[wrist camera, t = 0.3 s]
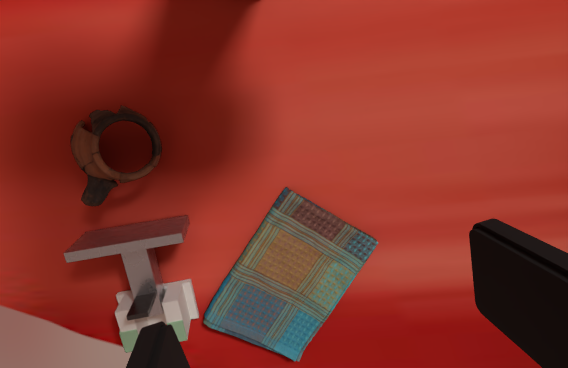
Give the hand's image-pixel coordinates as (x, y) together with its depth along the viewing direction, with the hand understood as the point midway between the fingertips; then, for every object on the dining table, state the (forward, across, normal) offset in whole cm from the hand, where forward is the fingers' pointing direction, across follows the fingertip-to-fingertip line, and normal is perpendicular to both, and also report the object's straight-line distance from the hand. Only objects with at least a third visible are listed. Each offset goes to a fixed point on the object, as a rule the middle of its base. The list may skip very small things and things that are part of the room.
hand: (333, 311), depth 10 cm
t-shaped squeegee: (+35, +18, +12) cm, 41 cm away
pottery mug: (+36, +17, -3) cm, 40 cm away
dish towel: (+36, 0, +21) cm, 42 cm away
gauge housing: (+35, +19, +19) cm, 44 cm away
